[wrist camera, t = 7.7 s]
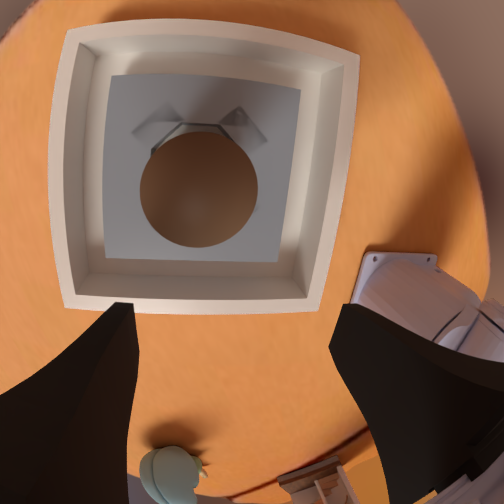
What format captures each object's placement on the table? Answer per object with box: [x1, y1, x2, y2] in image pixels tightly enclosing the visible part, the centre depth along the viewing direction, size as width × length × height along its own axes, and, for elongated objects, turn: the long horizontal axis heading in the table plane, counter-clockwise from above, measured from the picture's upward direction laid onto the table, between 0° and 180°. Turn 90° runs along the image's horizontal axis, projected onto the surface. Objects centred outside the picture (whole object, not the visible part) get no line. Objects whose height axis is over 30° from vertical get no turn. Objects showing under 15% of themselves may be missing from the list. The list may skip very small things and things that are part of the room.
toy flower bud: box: [139, 446, 208, 504], centre depth 24 cm, size 7×9×12 cm
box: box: [48, 19, 360, 314], centre depth 14 cm, size 16×16×4 cm
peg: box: [140, 132, 258, 248], centre depth 12 cm, size 4×4×8 cm
